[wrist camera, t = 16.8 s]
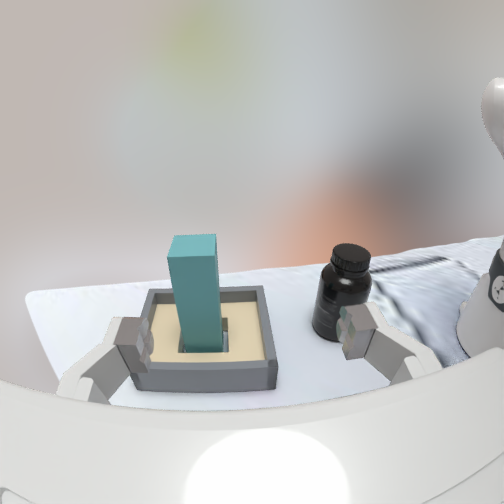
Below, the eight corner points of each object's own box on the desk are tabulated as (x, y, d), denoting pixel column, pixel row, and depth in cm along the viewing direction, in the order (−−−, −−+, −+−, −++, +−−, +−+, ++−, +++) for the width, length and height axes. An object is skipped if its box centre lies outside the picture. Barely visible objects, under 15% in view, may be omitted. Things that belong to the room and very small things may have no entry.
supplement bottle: (363, 340, 35) (387, 267, 29) (316, 344, 35) (332, 268, 29) (350, 308, 41) (367, 239, 35) (308, 310, 41) (318, 238, 35)
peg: (223, 335, 37) (215, 233, 29) (223, 360, 33) (214, 255, 26) (190, 335, 37) (174, 235, 29) (188, 360, 33) (167, 257, 25)
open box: (261, 309, 41) (262, 285, 39) (275, 389, 29) (278, 366, 27) (155, 312, 40) (149, 288, 38) (137, 389, 28) (125, 367, 26)
